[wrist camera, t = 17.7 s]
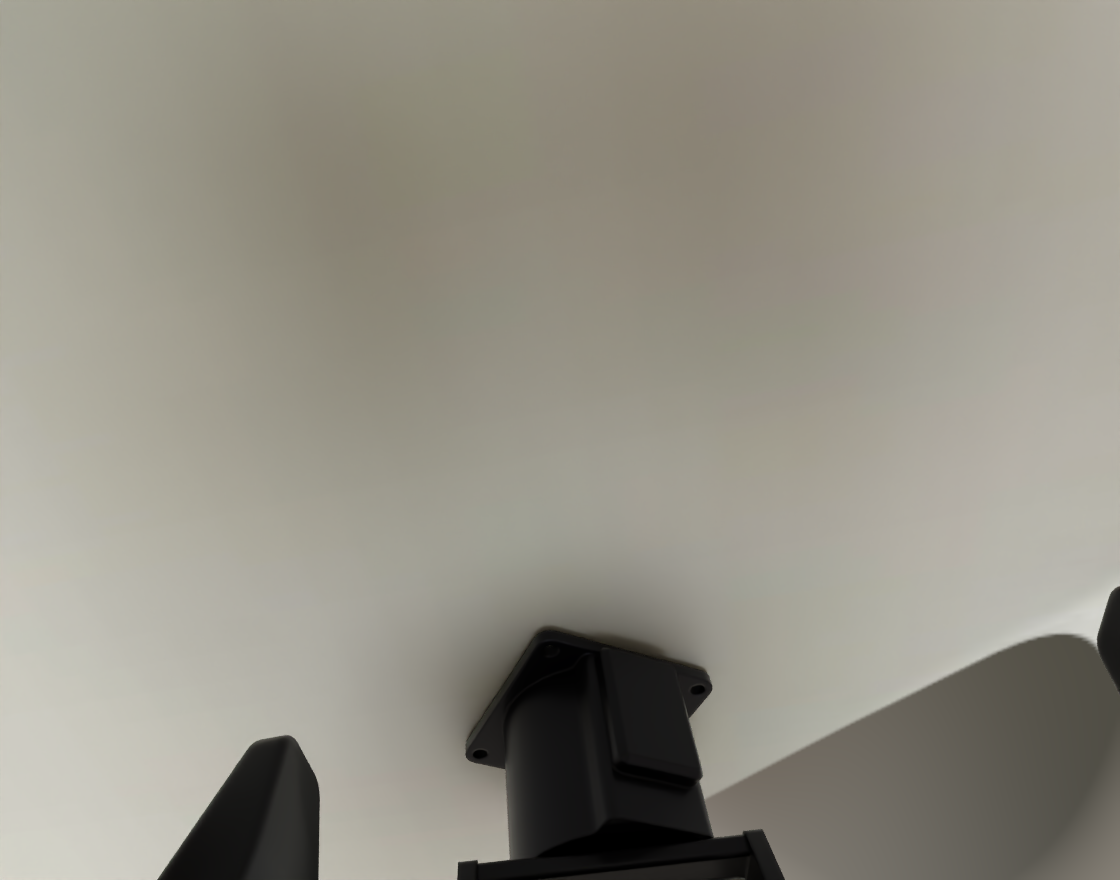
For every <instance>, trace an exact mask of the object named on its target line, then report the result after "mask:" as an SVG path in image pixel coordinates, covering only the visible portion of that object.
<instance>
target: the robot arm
mask: <svg viewBox="0 0 1120 880" xmlns="http://www.w3.org/2000/svg"><path fill="white" fill-rule="evenodd" d="M549 645H551V647H546V646H549ZM1097 646H1098V651H1099V654H1100V657H1101V659H1102V661H1103V663H1104V665H1105V667H1106V669H1107V671H1108V673H1109V675H1110V677H1111V679H1112V681H1113V683H1114V684H1115V686H1116V688H1117V690H1118V692H1119V694H1120V586H1119V587H1117V588H1115V589H1114V590H1113V591H1112V592H1111V594H1110V596H1109V599H1108V603H1107V606H1106V609H1105V612H1104V616H1103V619H1102V622H1101V625H1100V629H1099V632H1098V636H1097ZM711 691H712V684H711V680H710V677H709V675H708V674H707V673H706V672H704V671H701V670H697V669H693V668H690V667H686V666H682V665H679V664H675V663H671V662H668V661H664V660H660V659H657V658H653V657H649V656H646V655H642V654H638V653H635V652H631V651H627V650H624V649H620V648H616V647H613V646H609V645H605V644H602V643H598V642H594V641H591V640H587V639H583V638H580V637H576V636H572V635H569V634H565V633H561V632H558V631H551V630H549V631H543V632H541V633H539V634H538V635H537V636H536V637H535V638H534V639H533V641H532V642H531V644H530V645H529V647H528V648H527V650H526V651H525V653H524V654H523V656H522V658H521V659H520V661H519V662H518V664H517V665H516V667H515V668H514V670H513V671H512V673H511V674H510V676H509V677H508V679H507V680H506V682H505V683H504V685H503V687H502V688H501V690H500V691H499V693H498V694H497V696H496V697H495V699H494V700H493V702H492V703H491V705H490V706H489V708H488V709H487V711H486V713H485V714H484V716H483V717H482V719H481V720H480V722H479V723H478V725H477V726H476V728H475V729H474V731H473V732H472V734H471V735H470V737H469V738H468V740H467V742H466V758H467V759H468V760H469V761H471V762H474V763H478V764H483V765H488V766H493V767H497V768H502V769H505V771H506V791H507V811H508V831H509V851H510V860H506V861H497V862H488V863H479V864H478V861H477V860H475V861H465V862H459V863H458V878H457V880H785V879H784V877H783V874H782V872H781V870H780V868H779V865H778V863H777V861H776V859H775V856H774V854H773V852H772V850H771V848H770V845H769V843H768V841H767V838H766V836H765V834H764V832H763V830H762V829H758V830H749V831H743V834H742V835H735V836H725V837H717V838H714V836H713V833H712V829H711V825H710V821H709V817H708V813H707V809H706V805H705V801H704V797H703V793H702V789H701V785H700V781H699V780H700V779H701V778H702V777H703V772H702V768H701V764H700V760H699V756H698V752H697V749H696V745H695V741H694V737H693V733H692V729H691V726H690V722H689V718H690V717H691V715H692V714H693V713H694V712H695V711H696V710H697V708H698V707H699V706H700V705H701V704H702V702H703V701H704V700H705V699H706V698H707V696H708V695H709V694H710V693H711ZM319 811H320V795H319V787H318V782H317V779H316V776H315V774H314V772H313V770H312V768H311V767H310V765H309V763H308V761H307V759H306V757H305V756H304V754H303V752H302V750H301V748H300V746H299V744H298V743H297V741H296V740H295V738H293V737H291V736H289V735H284V736H278V737H273V738H267V739H262V740H259V741H256V742H255V743H253V744H252V745H251V746H250V747H249V748H248V750H247V751H246V752H245V754H244V755H243V757H242V758H241V760H240V761H239V762H238V764H237V765H236V767H235V768H234V770H233V771H232V773H231V774H230V775H229V777H228V778H227V780H226V781H225V783H224V784H223V786H222V787H221V788H220V790H219V791H218V793H217V794H216V796H215V797H214V799H213V800H212V801H211V803H210V804H209V806H208V807H207V809H206V810H205V812H204V813H203V814H202V816H201V817H200V819H199V820H198V822H197V823H196V825H195V826H194V827H193V829H192V830H191V832H190V833H189V835H188V836H187V838H186V839H185V840H184V842H183V843H182V845H181V846H180V848H179V849H178V851H177V852H176V853H175V855H174V856H173V858H172V859H171V861H170V862H169V864H168V865H167V866H166V868H165V869H164V871H163V872H162V874H161V875H160V877H159V878H158V879H157V880H318V870H319Z"/></svg>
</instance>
